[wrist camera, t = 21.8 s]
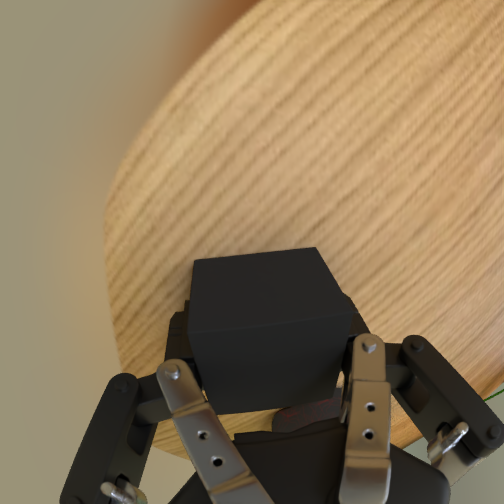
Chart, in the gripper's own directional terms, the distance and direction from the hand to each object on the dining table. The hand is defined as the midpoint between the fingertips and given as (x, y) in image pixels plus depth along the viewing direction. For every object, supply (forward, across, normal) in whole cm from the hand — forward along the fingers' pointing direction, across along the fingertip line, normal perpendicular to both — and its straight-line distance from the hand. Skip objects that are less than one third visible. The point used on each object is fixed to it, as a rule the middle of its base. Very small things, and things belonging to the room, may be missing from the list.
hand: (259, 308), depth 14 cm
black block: (0, 0, 0) cm, 0 cm away
